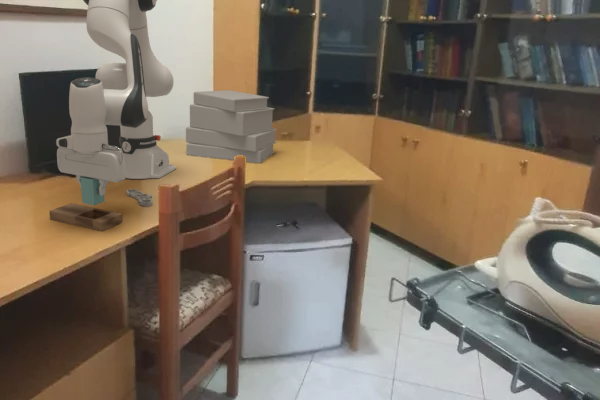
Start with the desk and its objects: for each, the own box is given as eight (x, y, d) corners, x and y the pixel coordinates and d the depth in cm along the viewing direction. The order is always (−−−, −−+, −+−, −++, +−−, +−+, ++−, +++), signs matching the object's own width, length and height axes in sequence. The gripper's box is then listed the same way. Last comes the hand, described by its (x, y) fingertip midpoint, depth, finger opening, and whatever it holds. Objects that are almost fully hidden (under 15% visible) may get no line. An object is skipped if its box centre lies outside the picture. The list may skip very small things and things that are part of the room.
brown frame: (72, 211, 155) (71, 202, 155) (122, 222, 149) (122, 213, 148) (50, 219, 148) (49, 210, 148) (102, 231, 142) (101, 222, 141)
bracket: (128, 203, 161) (126, 188, 174) (129, 209, 161) (126, 193, 175) (154, 201, 163) (150, 187, 177) (155, 207, 164) (150, 192, 177)
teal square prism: (93, 199, 148) (91, 174, 146) (104, 201, 147) (103, 176, 145) (82, 202, 145) (80, 177, 143) (94, 205, 143) (92, 179, 141)
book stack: (260, 166, 218) (262, 102, 210) (179, 157, 225) (178, 94, 217) (279, 151, 246) (282, 94, 238) (207, 143, 253) (207, 88, 245)
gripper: (130, 145, 140) (132, 196, 144) (69, 135, 147) (73, 184, 151) (113, 149, 134) (116, 202, 139) (51, 139, 142) (55, 189, 146)
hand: (93, 192), depth 145 cm, fingers closed on teal square prism, 4 cm apart
